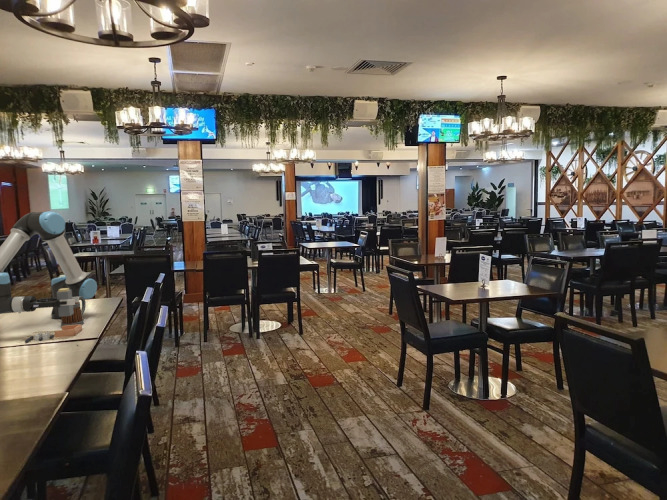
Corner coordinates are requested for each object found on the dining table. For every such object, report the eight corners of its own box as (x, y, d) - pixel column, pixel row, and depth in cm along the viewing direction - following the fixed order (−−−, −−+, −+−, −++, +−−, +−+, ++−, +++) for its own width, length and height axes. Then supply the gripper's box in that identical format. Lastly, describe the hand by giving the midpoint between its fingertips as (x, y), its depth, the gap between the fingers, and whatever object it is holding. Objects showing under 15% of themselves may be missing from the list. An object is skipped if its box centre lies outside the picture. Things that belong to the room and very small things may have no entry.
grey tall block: (63, 314, 239) (60, 288, 238) (73, 313, 240) (71, 287, 239) (59, 316, 235) (56, 290, 233) (70, 315, 235) (67, 289, 234)
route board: (34, 334, 245) (34, 331, 244) (85, 330, 248) (84, 327, 248) (17, 345, 227) (17, 342, 227) (72, 340, 231) (72, 338, 231)
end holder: (63, 331, 243) (62, 325, 243) (82, 330, 244) (81, 324, 244) (55, 337, 233) (54, 331, 233) (75, 335, 235) (74, 329, 234)
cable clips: (38, 338, 233) (38, 333, 232) (51, 337, 233) (50, 332, 233) (34, 340, 228) (34, 335, 228) (47, 339, 229) (46, 334, 229)
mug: (74, 330, 249) (71, 301, 247) (56, 329, 251) (53, 301, 250) (94, 322, 264) (92, 295, 263) (78, 321, 267) (75, 295, 265)
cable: (31, 338, 233) (31, 335, 232) (55, 336, 234) (55, 333, 234) (24, 343, 225) (24, 340, 225) (49, 341, 227) (48, 338, 227)
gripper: (34, 307, 243) (83, 304, 247) (17, 316, 225) (70, 312, 229) (32, 292, 242) (82, 289, 246) (15, 300, 225) (69, 296, 228)
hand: (76, 300), depth 237 cm, fingers closed on grey tall block, 5 cm apart
